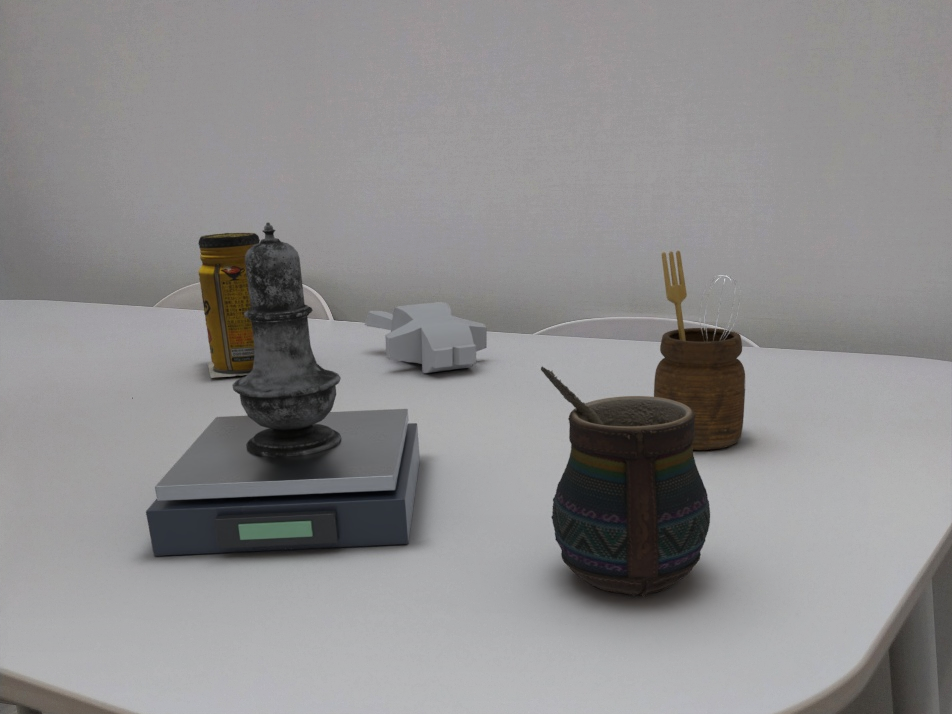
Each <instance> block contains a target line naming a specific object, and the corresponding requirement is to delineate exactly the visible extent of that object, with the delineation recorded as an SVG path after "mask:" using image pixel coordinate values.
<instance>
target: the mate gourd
mask: <svg viewBox="0 0 952 714" xmlns="http://www.w3.org/2000/svg"><path fill="white" fill-rule="evenodd" d="M540 371H541V372H542V373H543V374H544V376H545V377H546V378H547V379H548V381H549V382H551V384H552V385H553V386H554V387H555V388H556V389H557V390H558V392H559V393H560V395H561V396H562V397H563V399H565V400H566V401H567V402H568V403H570V404H571V405H572V406H573V407H574V408H573V409H572V410H571V412H569V415H568V418H567V419H568V424H569V429H568V430H569V431H568V432H569V435H568V440H569V442H570V452H569V456H568V457H569V458H568V460H567V463H566V465H565V468H564V471H563V473H562V475H561V477H560V480H559V481H558V483H557V486H556V489H555V494H554V497H553V498H552V511H551V513H552V514H551V516H550V517H551V519H552V526H553V530H554V536H555V539H554V540H555V541H556V542H557V544H558V546H559V548H560V550H561V553H560V556H561V559H562V561H563V562H564V564H566V566H567V567H568V568H569V569H570V570H571V571H572V572H573V573H574V574H575V575H576V576H578V577H579V578H581V579H582V580H583V581H585V582H586V583H587V584H589V585H591V586H593V587H594V588H597V589H600V590H602V591H605V592H610V593H611V592H612V593H617V594H624V595H625V594H627V595H632V596H633V597H636V596H638V595H639V596H642V597H643V598H645V597H646V595H649V594H653V593H654V594H655V593H657V592H662V591H664V590H666V589H669V588H670V587H671V586H673V585H674V584H676V583H678V582H679V581H680V580H682V579H683V578H685V577H686V576H688V574H689V573H690V572H691V571H692V570H693V568H695V566H696V565H697V564H698V562H699V561H700V559H701V551H702V550H703V547H704V544H705V542H706V538H707V535H708V532H709V529H710V524H711V509H710V501H709V499H708V497H709V495H708V492H707V489H706V486H705V484H704V481H703V479H702V476H701V474H700V472H699V469H698V466H697V464H696V460H695V456H694V450H693V449H692V442H693V440H694V438H695V427H694V423H695V417H696V416H695V413H694V411H693V409H692V408H690V407H689V406H687V405H685V404H682V403H680V402H677V401H673V400H670V399H665V398H659V397H654V396H649V395H625V396H624V395H623V396H613V397H605V398H600V399H595V400H592V401H587V402H584V401H582V400H581V399H580V398H579V397H578V396H577V395H576V394H575V393H574V392H573V391H571V389H570V388H569V387H568V386H567V385H565V384H564V383H563V382H562V380H561V379H558V376H556V374H554V372H553V370H551V371H550V369H547V368H546V367H544V366H541V367H540Z"/></svg>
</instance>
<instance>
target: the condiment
mask: <svg viewBox="0 0 952 714" xmlns="http://www.w3.org/2000/svg"><path fill="white" fill-rule="evenodd" d="M260 241H261V239H260V236H259V235H258V234H257V233H256V232H224V233H212V234H206V235H201V236H200V237H199V239H198V246H199V253H200V255H199V257H200V261H201V263H202V264H201V265H200V267H199V270H198V277H199V283H200V291H201V298H202V304H203V314H204V318H205V319H204V320H205V326H206V332H207V340H208V345H209V351H210V352H209V353H210V358H211V359H210V360H211V361H207V362H206V363H207V367H208V371H209V376H210V379H213V378H226V377H229V378H230V377H236V376H240V377H241V376H247V375H248V374H249V373H250V372H251V371H252V370H253V364H254V356H255V346H254V338H253V331H252V323H251V320H249V318H246V317H245V315H244V313H245V312H246V311H248V310H249V309H251V304H250V297H249V289H248V281H247V273H246V266H245V255H246V253H247V251H248V250H249V249H250V248H251V247H252V246H253V245H256V244H258V243H260Z"/></svg>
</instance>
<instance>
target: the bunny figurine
mask: <svg viewBox="0 0 952 714" xmlns="http://www.w3.org/2000/svg"><path fill="white" fill-rule="evenodd" d="M364 326H366V327H370V328H375V329H382V330H388V331H390V332H388V333H386V334H385V335H384V339H385V340H384V341H385V358H386V359H387V360H390V361H399V362H405V363H415V364H419V365H421V371H422V373H423V374H430V373H437V372H445V371H455V370H461V369H468V368H471V367H472V366H473V364H477V353H478V352H479V351H482V350H484V349H487V348H488V347H487V346H488V345H487V344H488V342H487V341H488V340H487V339H488V336H487V335H488V333H487V331H488V330H487V329H488V328H487V325H486V324H485V323H482V322H477V321H473V320H470V319H465V318H461V317H457V316H455V315H452V308H451V307H450V305H449V304H448V303H446V302H444V301H435V302H425V303H416V304H407V305H397V306H394V307H393V312H392V313H391V312H388V311H384V310H369V311H368V313H367V316H366V319H365V322H364Z"/></svg>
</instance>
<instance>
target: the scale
mask: <svg viewBox="0 0 952 714" xmlns="http://www.w3.org/2000/svg"><path fill="white" fill-rule="evenodd" d="M419 440H420V439H419V425H418V423H416V422H408V426H407V431H406V437H405V442H404V447H403V452H402V457H401V462H400V468H399V473H398V478H397V483H396V488H395V490H392V491H370V492H348V493H327V494H305V495H283V496H261V497H239V498H217V499H195V500H173V501H157V498H156V499H155V500H154V501H153V502H152V503H151V505H150V506H149V507H148V508H147V509H146V510H145V515H146V519H147V520H146V521H147V526H148V531H149V537H150V543H151V547H152V548H151V549H152V553H153V556H154V557H159V556H181V555H183V556H184V555H202V554H225V553H226V554H227V553H247V552H266V551H268V552H269V551H287V550H289V551H290V550H308V549H309V550H310V549H328V548H329V549H331V548H349V547H350V548H351V547H353V548H354V547H372V546H393V545H395V546H396V545H408V544H409V541H410V536H411V535H410V533H411V526H412V521H413V520H412V519H413V512H414V505H415V497H416V491H417V482H418V475H419V469H420V468H419V467H420V461H421V456H420V455H421V453H420V442H419Z"/></svg>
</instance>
